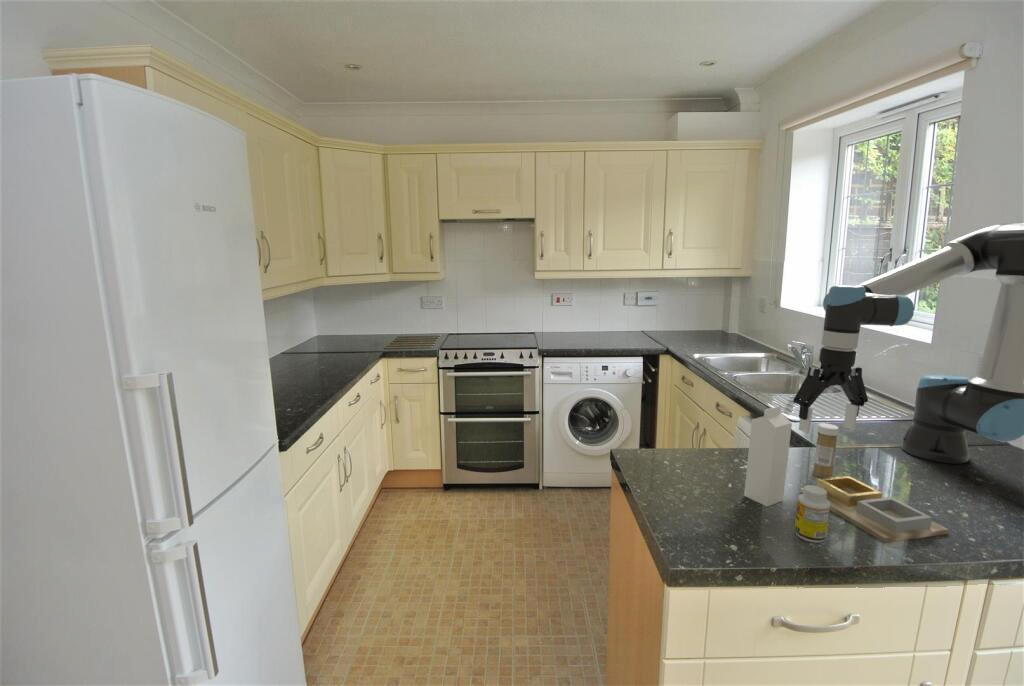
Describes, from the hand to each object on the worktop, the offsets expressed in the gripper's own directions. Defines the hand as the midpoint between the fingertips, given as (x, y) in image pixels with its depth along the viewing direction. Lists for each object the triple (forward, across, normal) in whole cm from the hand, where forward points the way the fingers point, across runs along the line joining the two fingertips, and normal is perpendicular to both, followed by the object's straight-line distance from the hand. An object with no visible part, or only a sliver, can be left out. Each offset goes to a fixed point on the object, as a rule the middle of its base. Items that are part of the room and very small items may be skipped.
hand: (826, 430), depth 130 cm
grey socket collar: (+12, +4, +24) cm, 27 cm away
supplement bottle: (+13, +26, +24) cm, 37 cm away
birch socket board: (+12, +4, +18) cm, 22 cm away
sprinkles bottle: (+12, 0, 0) cm, 12 cm away
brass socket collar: (+12, +4, +13) cm, 18 cm away
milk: (+13, +23, +8) cm, 28 cm away
